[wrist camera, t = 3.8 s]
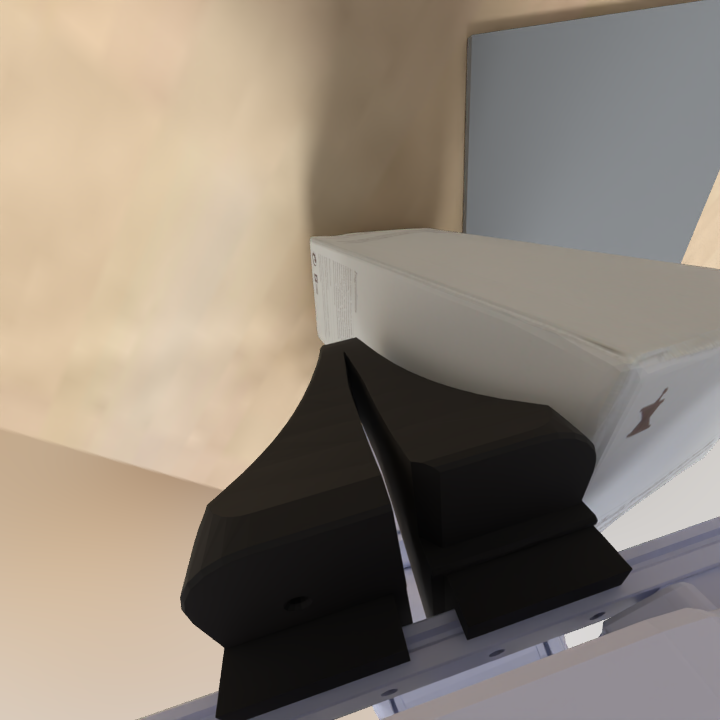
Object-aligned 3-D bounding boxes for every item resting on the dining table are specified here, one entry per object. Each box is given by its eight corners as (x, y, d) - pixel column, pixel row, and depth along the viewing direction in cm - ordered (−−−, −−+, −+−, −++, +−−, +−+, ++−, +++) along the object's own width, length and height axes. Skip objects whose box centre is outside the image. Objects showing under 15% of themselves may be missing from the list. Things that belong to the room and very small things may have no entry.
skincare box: (315, 334, 18) (509, 608, 6) (305, 227, 15) (644, 375, 3) (429, 313, 21) (707, 475, 9) (441, 220, 18) (878, 285, 6)
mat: (648, 327, 26) (653, 329, 26) (459, 378, 25) (461, 381, 24) (784, -10, 16) (795, -14, 15) (467, 38, 14) (472, 34, 14)
